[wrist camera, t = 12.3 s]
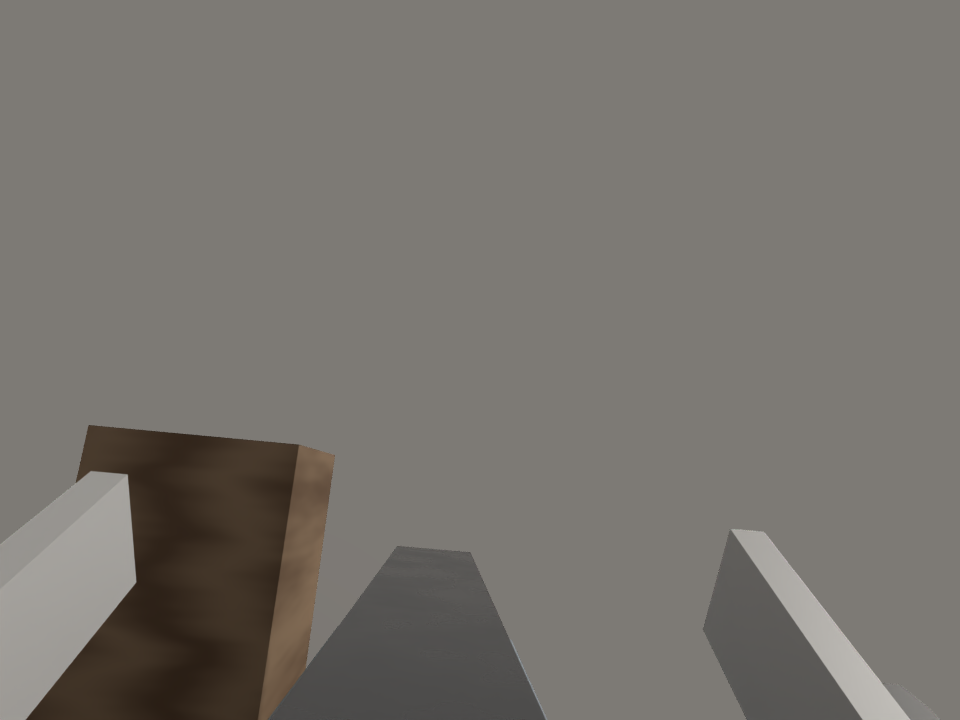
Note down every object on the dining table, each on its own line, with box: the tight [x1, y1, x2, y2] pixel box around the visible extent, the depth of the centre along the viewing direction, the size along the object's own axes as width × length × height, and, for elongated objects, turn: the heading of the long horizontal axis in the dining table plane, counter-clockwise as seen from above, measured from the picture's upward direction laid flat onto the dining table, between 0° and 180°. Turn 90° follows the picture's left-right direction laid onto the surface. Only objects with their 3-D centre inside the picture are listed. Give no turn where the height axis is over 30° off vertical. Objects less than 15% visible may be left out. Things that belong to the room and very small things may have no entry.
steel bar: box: [270, 546, 546, 720], centre depth 18 cm, size 4×24×4 cm, turn 4°
